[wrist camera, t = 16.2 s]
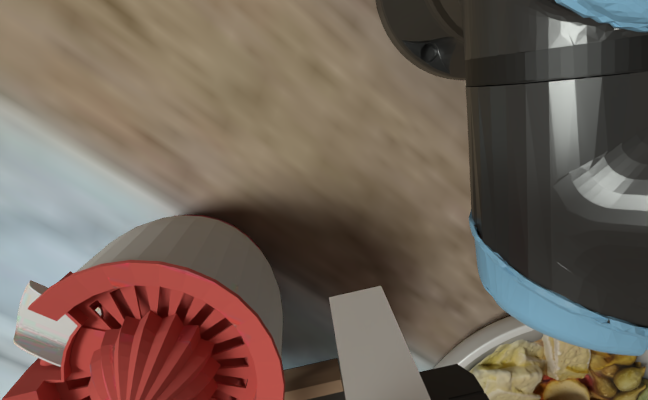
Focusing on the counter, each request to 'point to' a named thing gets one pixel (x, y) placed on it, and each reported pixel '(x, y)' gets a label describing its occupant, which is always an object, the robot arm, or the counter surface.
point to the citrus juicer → (157, 320)
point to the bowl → (546, 366)
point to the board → (313, 380)
